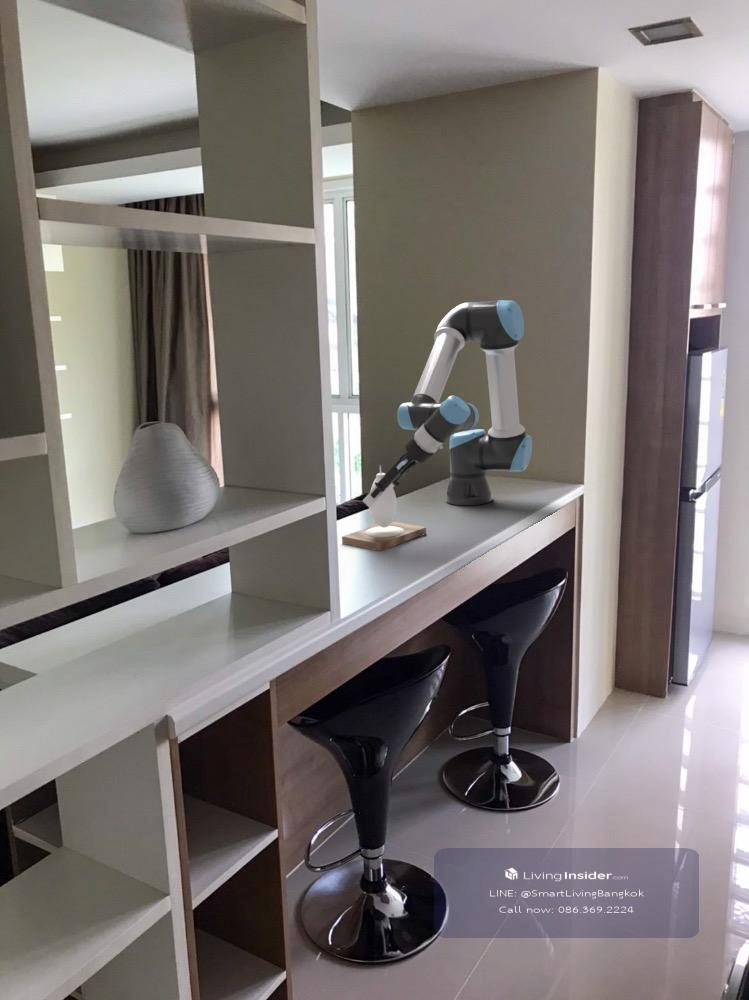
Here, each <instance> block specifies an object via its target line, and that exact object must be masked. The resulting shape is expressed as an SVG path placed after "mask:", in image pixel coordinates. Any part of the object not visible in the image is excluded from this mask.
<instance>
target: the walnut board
mask: <svg viewBox="0 0 749 1000" xmlns="http://www.w3.org/2000/svg"><path fill="white" fill-rule="evenodd" d="M423 534H425V535H427V526H421V525H415V524H409V523H404V522H398V521H394V522H393V523H391V525H390V526H388V527H387V528H382V527H380V526H378V524H375V525H373V526H370V527H369V526H368V527H366V528H362V529H361V530H358V531H354V532H351V533H348V534H345V535H343V536H341V540H342V541H341V543H342V544H343V545H348V544H351V545H350V546H353V545H354V547H358V546H359V547H360V548H363V549H368V550H373V551H379V552H381V551H384V550H386V549H389V548H391V547H394V546H397V544H398V545H401V544H403V543H406V542H408V541H407V540H409V541H411V540H413V539H412V538H414V537H417V536H420V535H422V536H424V535H423ZM420 537H421V536H420ZM417 538H418V537H417ZM410 539H411V540H410ZM414 539H415V538H414ZM405 541H406V542H405ZM402 542H403V543H402ZM344 543H346V544H344ZM383 549H384V550H383Z"/></svg>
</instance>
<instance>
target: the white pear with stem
mask: <svg viewBox="0 0 749 1000" xmlns="http://www.w3.org/2000/svg"><path fill="white" fill-rule="evenodd" d="M386 474H387V473H385V472H382V465H381V464H379V473H377V474H376V475H375V477H376V478H374V481H373V482H372V485H371V488H370V492H371V491H372V490H373V489H374V488H375V486H376V485H375V482H377V483H378V482H379V481H380V480H381V479H382V478H383V477H384V476H385V475H386ZM370 492H369V493H370ZM397 500H398V499H397V495H396V492H395V490H394V487H392V485H391V484H390V485H389V486H388V487H387V488H386V489H385V492H384V493H383V494H382V495H381V496H380V497H379V498H378V499H377V500H376V501H375V502H374V503H373V504H372V506H371V507H368V509H369V513H370V517H371V518H372V520H373V522H374V524H375V525H378V526H380V527H382V528H387V527H388V526H390V525H391V523H393V522H395V519H396V517H397V514H398V513H397V512H398V501H397Z"/></svg>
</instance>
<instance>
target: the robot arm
mask: <svg viewBox="0 0 749 1000" xmlns="http://www.w3.org/2000/svg"><path fill="white" fill-rule="evenodd" d="M524 328H525V321H524V316H523V312H522V309H521V307H520V306H519V303H517V302H516V301H514V300H509V299H508V300H505V299H504V300H503V299H498V300H497V299H496V300H495V299H494V300H482V301H469V302H468V301H467V302H464V303H463V302H462V303H461V304H459V305H457V306H455V307H454V308H453V309H451V310H450V311H449V312H448V313H447V314H446V315H445V316H444V317H443V319H442V320H441V321H440V323H439V324H438V325H437V328H436V329H435V333H434V334H433V340H434V344H433V347H432V349H431V351H430V354H429V356H428V358H427V361H426V364H425V366H424V368H423V371H422V374H421V377H420V379H419V381H418V384H417V387H416V388H415V391H414V394H413V397H411V400H410V402H405V403H404V402H403V403H401V404H400V405H399V407H398V409H397V414H396V415H397V423H398V425H399V427H400V428H401V429H403V430H410V431H415V433H414V435H412V436H411V437H410V438H409V440H408V441H407V442H405V443H404V449H405V451H406V452H407V453H405V454H403V455H402V456H401V457H400V458H399V459H398V460H397V461H396V463H395V464H394V465H393V466H392V467H391V469H389V470H388V472H386V473H385V474H386V475H385V476H384V477H383V478H382V479H381V480H380V481H379V482H378V483H377V482H375V485H376V486H375V488H374V489H373V490H372V491H371V490H370V491H371V492H369V493H368V494H367V495H366V496H365V497H364V498H363V500H362V502H363V503H364V505H366V506H367V507H368V508H369V507H371V506H372V504H373V503H374V502H375V501H376V500H377V499H378V498H379V497H380V496H381V495H382V494H383V493H384V492H385V489H386V488H387V487H388V486H389V485H390V484H391V485H392V487H393V488H394V487H395V486H396V487H398V486H399V485H400V482H401V481H402V479H404V477H405V476H406V475H407V474H408V472H409V471H411V470H412V468H413V467H415V466H417V464H418V463H420V464H425V463H427V462H428V461H429V460H430V459H431V458H432V457H433V455H434V453H436V452H437V451H438V450H439V449H440V450H442V449H443V448H444V446H443V445H444V444H445V443H446V441H448V440H449V448H448V450H449V466H450V467H449V470H450V471H449V473H450V477H449V478H450V479H449V483H448V485H447V486H448V487H447V489H446V494H445V502H446V503H448V504H450V505H456V506H477V505H484V504H488V503H491V502H492V501H493V493H492V491H491V488H490V485H489V481H488V479H487V471H489V472H490V471H495V472H510V473H513V472H514V473H515V472H523V471H525V470H526V469H527V468H528V466H529V464H530V460H531V457H532V454H533V453H532V452H533V439H532V435H529V434H526V428H525V427H524V426H523V425H522V424H521V423H520V413H519V412H520V411H519V401H518V400H519V399H518V398H519V396H518V385H517V372H516V360H515V359H516V358H515V349H516V348H517V347H518V345H519V340H522V339H523V337H524V333H525V329H524ZM469 342H479V349H480V350H481V351H482V352H484V353H485V360H486V371H487V374H486V375H487V382H488V383H487V384H488V394H489V405H490V407H489V408H490V415H491V416H490V417H491V419H490V420H491V427H490V428H489V430H488V431H487V432H486V430H485V429H481V428H478V429H474V428H475V427H476V426H477V424H478V422H479V419H480V412H479V411H478V408H477V407H476V406H475V405H474V404H472V403H469V402H465V401H464V400H463V399H462V398H460V397H459V396H457V395H450V396H448V397H447V398H446V399H445V400H444V401H442V402H440V400H441V397H442V395H443V392H444V389H445V387H446V384H447V381H448V378H449V376H450V374H451V371H452V369H453V366H454V364H455V361H456V359H457V355H458V353H459V351H461V350H462V349H463V348H464V347H465V346H466V345H465V344H466V343H469ZM486 433H487V434H486Z"/></svg>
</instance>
